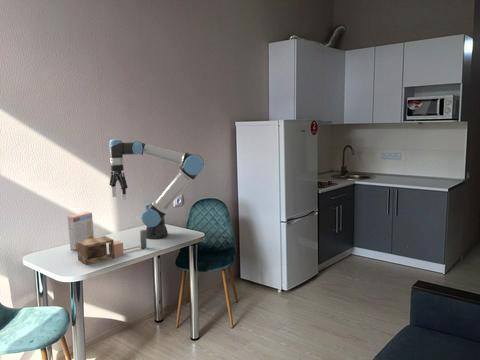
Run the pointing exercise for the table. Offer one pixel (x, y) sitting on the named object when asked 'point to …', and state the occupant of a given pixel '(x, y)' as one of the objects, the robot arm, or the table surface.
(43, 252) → the table surface
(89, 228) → the cracker box
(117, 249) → the u-shaped stand
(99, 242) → the cubby
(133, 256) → the table surface
